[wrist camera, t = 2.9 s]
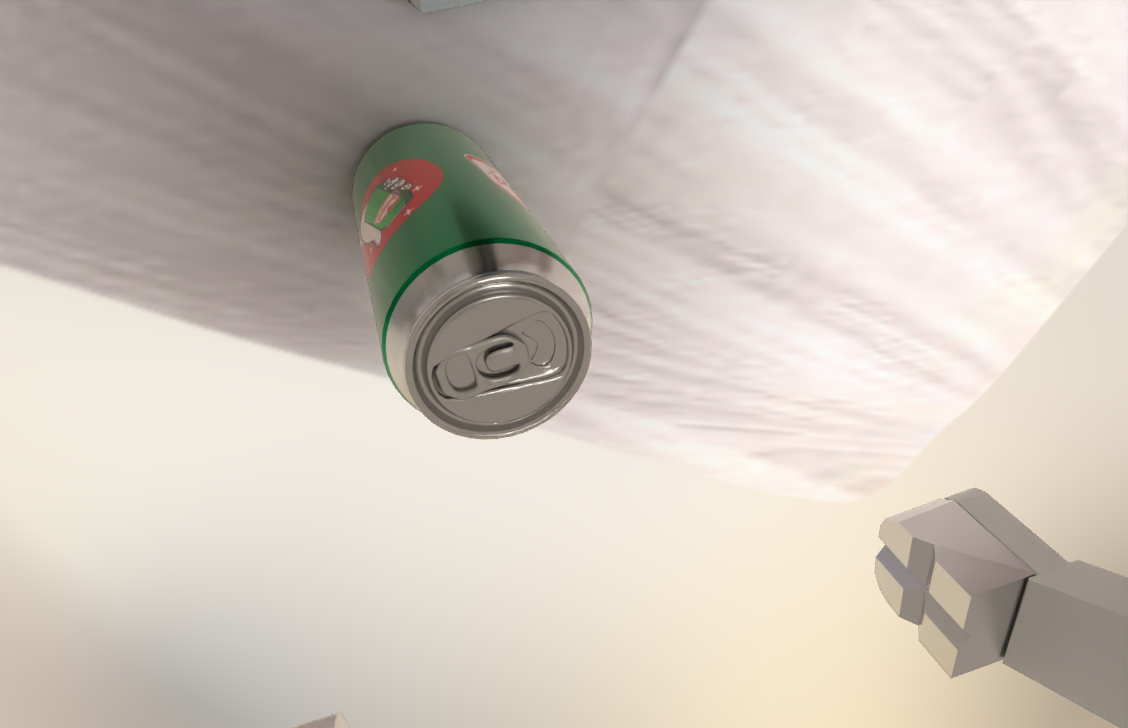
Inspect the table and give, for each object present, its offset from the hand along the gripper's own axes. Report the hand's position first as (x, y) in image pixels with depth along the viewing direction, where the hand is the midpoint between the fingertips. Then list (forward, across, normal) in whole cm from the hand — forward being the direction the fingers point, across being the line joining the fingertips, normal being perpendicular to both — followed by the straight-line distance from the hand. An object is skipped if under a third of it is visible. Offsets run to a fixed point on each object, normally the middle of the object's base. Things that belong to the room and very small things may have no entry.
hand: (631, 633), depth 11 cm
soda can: (+20, 0, 0) cm, 20 cm away
